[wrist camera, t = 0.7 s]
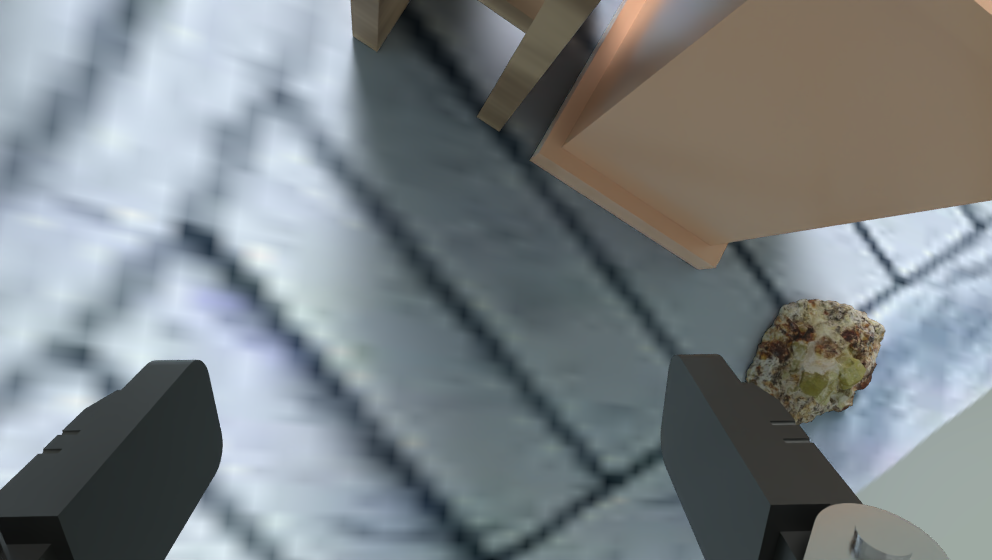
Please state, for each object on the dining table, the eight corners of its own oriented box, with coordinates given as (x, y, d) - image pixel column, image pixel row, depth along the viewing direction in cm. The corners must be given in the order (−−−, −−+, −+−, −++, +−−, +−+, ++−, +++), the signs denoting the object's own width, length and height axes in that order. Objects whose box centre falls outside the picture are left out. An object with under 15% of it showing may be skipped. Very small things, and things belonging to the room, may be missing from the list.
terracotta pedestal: (698, 269, 38) (1215, 221, 15) (529, 160, 36) (825, -96, 13) (783, 104, 40) (1366, -172, 17) (628, -9, 38) (1046, -507, 15)
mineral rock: (839, 260, 38) (934, 356, 37) (804, 276, 43) (888, 362, 41) (720, 368, 37) (815, 473, 35) (696, 373, 41) (780, 466, 40)
